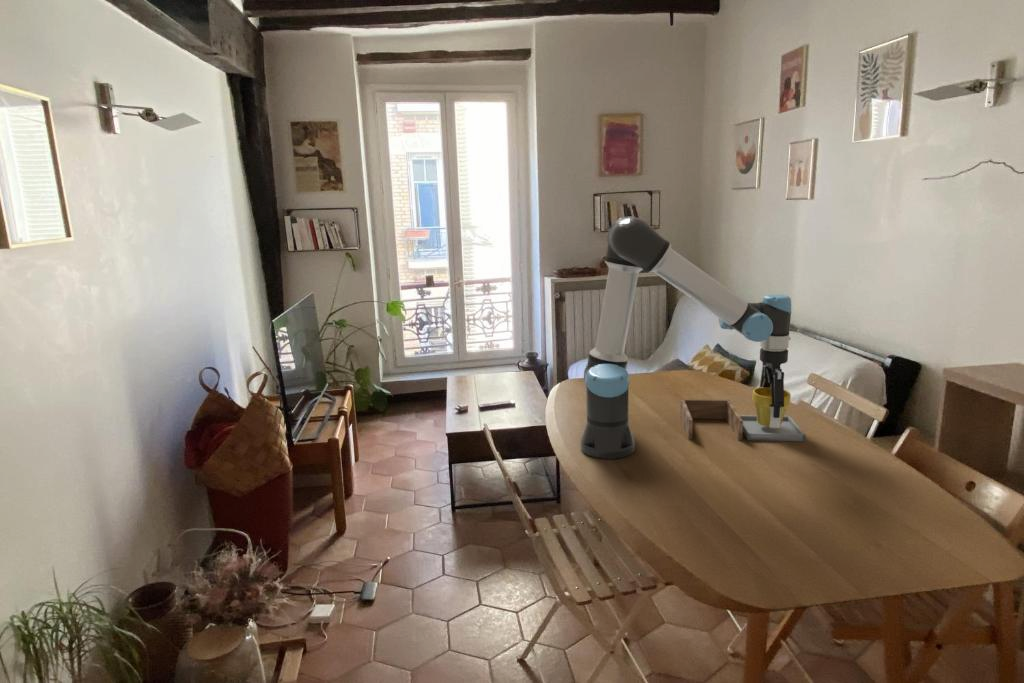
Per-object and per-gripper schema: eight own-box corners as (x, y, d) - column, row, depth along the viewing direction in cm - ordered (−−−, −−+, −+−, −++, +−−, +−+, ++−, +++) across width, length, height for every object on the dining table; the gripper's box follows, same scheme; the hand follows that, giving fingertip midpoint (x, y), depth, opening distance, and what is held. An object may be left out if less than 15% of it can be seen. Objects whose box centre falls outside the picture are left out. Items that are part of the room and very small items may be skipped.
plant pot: (792, 430, 178) (794, 398, 176) (754, 428, 180) (756, 396, 178) (784, 417, 188) (786, 387, 186) (748, 416, 190) (750, 386, 188)
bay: (742, 440, 178) (743, 420, 177) (688, 439, 181) (689, 420, 179) (728, 417, 197) (729, 399, 195) (680, 416, 199) (680, 399, 198)
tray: (805, 441, 176) (805, 434, 176) (748, 440, 178) (748, 433, 178) (788, 421, 191) (789, 415, 191) (736, 421, 193) (736, 415, 193)
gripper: (800, 358, 168) (794, 435, 173) (777, 339, 189) (772, 408, 195) (771, 358, 169) (766, 434, 174) (751, 339, 191) (747, 407, 196)
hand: (769, 420), depth 184 cm, fingers closed on plant pot, 10 cm apart
